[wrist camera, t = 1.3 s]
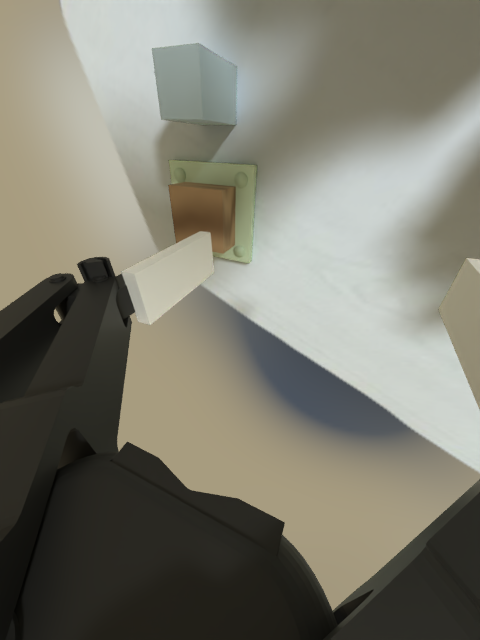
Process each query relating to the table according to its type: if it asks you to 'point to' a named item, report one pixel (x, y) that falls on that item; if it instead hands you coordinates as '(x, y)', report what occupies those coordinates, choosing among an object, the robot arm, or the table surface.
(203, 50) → the column brick
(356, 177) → the table surface
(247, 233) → the plate
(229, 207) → the base brick
